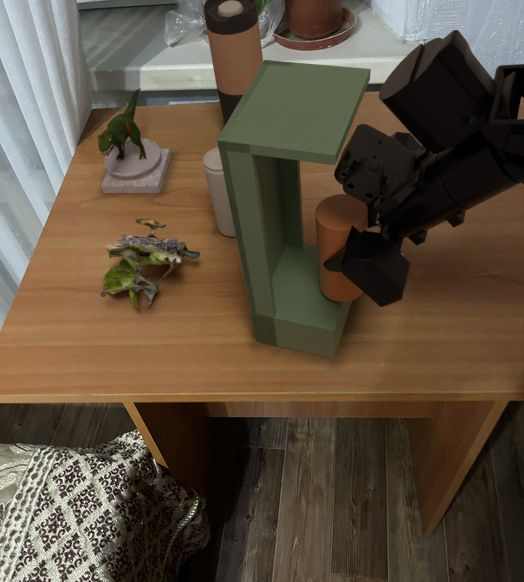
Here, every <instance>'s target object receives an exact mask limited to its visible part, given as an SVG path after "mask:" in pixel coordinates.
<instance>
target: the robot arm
mask: <svg viewBox="0 0 524 582" xmlns="http://www.w3.org/2000/svg"><path fill="white" fill-rule="evenodd" d="M522 98H524V63H517V64H501V65H498V66H497V67H496V69H495V72H494V77H492V75H490V74H489V72H488V71H487V69H485V67H484V66H483V64H481V62H480V61H479V60H478V58H477V57H476V56H475V54H474V53H473V52H472V50H471V47H470V44H469V42H468V40H466V38H465V37H464V35H463V34H462V33H461V32H460V30H459V29H453V30H452V31H451V32H450V33H448V34H447V35H446V36H444V37H443V38H442V37H440V36H439V37H435V38H432V39H431V40H428V41H427V42H426V43H424V44H423V43H420V44H419V45H417V46H416V47H415V48H413V50H411V51H410V52H409V53H408V54H407V55H406V56H405V57H404V58H403V59H401V61H400V62H399V63H398V64H397V65H396V66H395V68H394V69H393V70H392V71H391V72H390V74H389V75H388V76H387V78H386V79H385V81H384V82H383V84H382V86H381V88H380V89H379V92H378V99H379V100H380V101H381V102H382V103H383V105H384V106H385V107H386V108H387V109H388V110H389V111H390V112H391V113H392V115H394V117H395V118H396V119H397V120H398V121H399V122H400V123H401V124H402V126H403V127H404V128H405V129H406V130H407V131H408V132H404V131H395V132H394V133H393V134H392V135H388V134H386V133H384V132H382V131H381V130H379V129H377V128H375V127H373V126H371V125H369V124H366V123H360V124H358V125H357V126H356V128H355V129H354V131H353V133H352V135H351V136H350V138H349V140H348V141H347V143H346V145H345V147H343V150H342V151H341V153H340V156H339V159H338V161H337V162H338V163H337V164H336V166H335V169H334V172H333V177H334V179H335V180H336V182H337V183H338V184H340V185H341V186H342V190H343V192H344V194H348V195H350V196H352V197H354V198H356V199H358V200H359V201H361V202H363V203H366V205H367V207H368V228H367V231H365V230H364V231H362V232H359V231H358V230H357V229H356V228H355V227H354V226H353V225H352V226H351V229H350V232H349V235H348V238H347V241H346V244H345V246H344V247H342V248H341V249H340V250H338V251H337V252H336V253H334V254H333V255H332V256H330V257H329V258H328V259H327V260H326V261H325V262H324V263H323V266H324V267H325V268H326V269H327V270H329V271H334V272H342V273H343V275H344V276H346V277H347V278H348V279H349V280H350V281H351V282H352V283H354V284H355V285H356V286H357V287H358V288H359V289H361V290H362V291H363V293H364V294H365V295H366V296H367V297H368V298H369V299H371V300H372V301H373V302H374V303H375V304H376V305H378V306H379V307H380V308H384V307H388V306H390V305H393V304H395V303H398V302H400V301H402V300H403V298H404V293H405V289H406V286H407V281H408V278H409V275H410V269H411V261H410V260H408V259H407V258H406V257H405V256H404V253H403V252H402V247H403V244H404V240H405V239H407V238H408V239H409V240H410V241H411V242H412V243H413V244H414V245H415V246H416V247H417V246H419V245H421V244H423V243H425V242H426V241H427V240H426V239H427V236H428V232H429V230H431V229H433V228H435V227H437V226H439V225H440V224H443V223H446V222H447V223H448V224H449V225H450V226H451V227H452V228H453V229H454V228H456V227H458V226H461V225H462V224H464V222H465V217H466V213H467V211H468V210H471V209H472V208H475V207H477V206H478V205H481V204H483V203H484V202H486V201H488V200H491V199H492V198H494V197H496V196H498V195H500V194H503V193H504V192H507V191H508V190H511V189H513V187H514V188H515V187H516V186H518V185H520V184H523V185H524V118H519V113H520V107H521V100H522ZM374 227H378V228H379V232H377V231H371V230H368V229H371V228H374Z"/></svg>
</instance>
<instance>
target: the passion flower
mask: <svg viewBox="0 0 524 582" xmlns="http://www.w3.org/2000/svg"><path fill="white" fill-rule="evenodd" d="M135 223H136V224H138V225H143V226H147V227H149V228H150V233H149V235H147V236H138V235H137V236H136V235H131V234H129V235H126V234H121V238H119V239H118V240H117V242H120V244H118V243H116V242H115V243H113V244H111V243H109V244H108V243H107V245H105V250H106V251H107V252H108V258H109V259H113V258H117V257H118V258H120V257H122V259H120V260H119V263H118V265H116V264H114V265H113V266H111V267H110V268H109V270H108V271H107V272H106V273H104V276H103V279H102V285H103V286H102V289H101V291H100V293H99V295H100V297H102V298H105V297H106V292H107V293H109V294H111V295H116V294H119V293H121V292H123V291H127V290H129V297H130V301H131V304H132V306H133V307H134V308H135V309H136V310H140V308H139V303H138V299H137V298H138V297H137V295H138V292H139V291H140V290H143V292H144V295H145V296H146V297H147V298H148V305H147V309H150V308H151V306H152V302H153V299H154V296H155V295H156V293H157V291H159V289H160V284H161V283H162V282H163V281H164V280H165V278H167V276H168V275H169V274H170V273H171V272H172V271H173V270H174V268H177V267H178V266H181V265H183V263H184V258H183V257H187V258H189V259H191V260H197V259H198V258H200V256H201V253H200V250H190V249H189V248H188V247H187V245H186V243H185V241H179V239H178V238H176V239H169V238H163V239H159V238H158V237H157V236H156V230H157V229H158V228H160V229H164V228H166V227H167V226H168V224H167V223H161V222H159V221H157V220H155V219H154V218H153V219H151V218H150V219H147V218H137V219H135ZM178 241H179V242H178ZM121 244H122V245H121ZM138 257H141V258H145V259H143V260H141V262H139V261H138ZM162 265H165V266H167V267H169V266H170V267H169V269H168V270H167V271H166V272H165V273H164V274H163V276H162V277H161V278H160V279H159V280H158V281H157V282H153V281H152V276H151V269H150V266H162ZM146 268H147V269H148V270H147V271H148V278H145V277H144V276H143V275H142V273H141V272H142V271H143V270H144V269H146ZM140 282H144V283H146V284H148V285H139V284H138V283H140Z"/></svg>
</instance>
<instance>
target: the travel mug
mask: <svg viewBox="0 0 524 582" xmlns="http://www.w3.org/2000/svg"><path fill="white" fill-rule="evenodd" d="M257 3H258V2H257V0H205V2H204V3H203V14H204V15H203V16H204V21H205V26H206V32H207V39H208V43H209V44H208V45H209V50H210V56H211V63H212V69H213V73H214V79H215V86H216V91H217V96H218V99H219V104H220V110H221V114H222V119H223V123H224V126H225V125H226V123H227V122H228V120H229V118H230V117H231V115H232V113H233V112H234V110H235V108H236V107H237V105H238V103H239V102H240V100H241V98H242V97H243V95H244V93H245V91H246V90H247V88H248V86H249V85H250V83H251V81H252V80H253V78H254V76H255V75H256V73H257V71H258V70H259V68H260V66H261V64H262V63H263V61H264V57H263V49H262V48H263V46H262V40H261V31H260V30H261V29H260V21H259V12H258V4H257Z"/></svg>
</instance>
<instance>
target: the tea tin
mask: <svg viewBox="0 0 524 582" xmlns="http://www.w3.org/2000/svg"><path fill="white" fill-rule="evenodd" d="M314 211H315V212H314V217H315V233H316V246H317V249H318V263H319V278H320V289H321V291H322V293H323V294H324V295H325V296H326V297H327V298H329V299H331V300H333V301H338V302H347V301H351V300H352V301H353V300H356V299H357V298H359V297H360V296H361V295H362V294H363V293H364V292H363V291H362V290H361V289H359V288H358V287H357V286H356V285H355V284H354V283H352V282H351V281H350V280H349V279H348V278H347V277H346V276H344V275H343V273H342V272H334V271H329V270H327V269H326V268H325V267H324V266H323V263H324V262H325V261H326V260H327V259H328V258H329V257H330V256H332V255H333V254H334V253H336V252H337V251H338V250H340V249H341V248H342V247H344V246H345V244H346V241H347V238H348V235H349V232H350V229H351V226H352V225H353V226H354V227H355V228H356V229H357V230H358V231H359V232H362V231H364V230H365V231H368V229H369V228H368V207H367V205H366V203H363V202H361V201H359V200H358V199H356V198H354V197H352V196H350V195H348V194H346V193H338V194H337V193H336V194H333V195H329V196H327V197H325V198H324V199H323V200H321V201H320V202H319V203H318V204H317V205H316V208H315V210H314ZM367 228H368V229H367Z"/></svg>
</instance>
